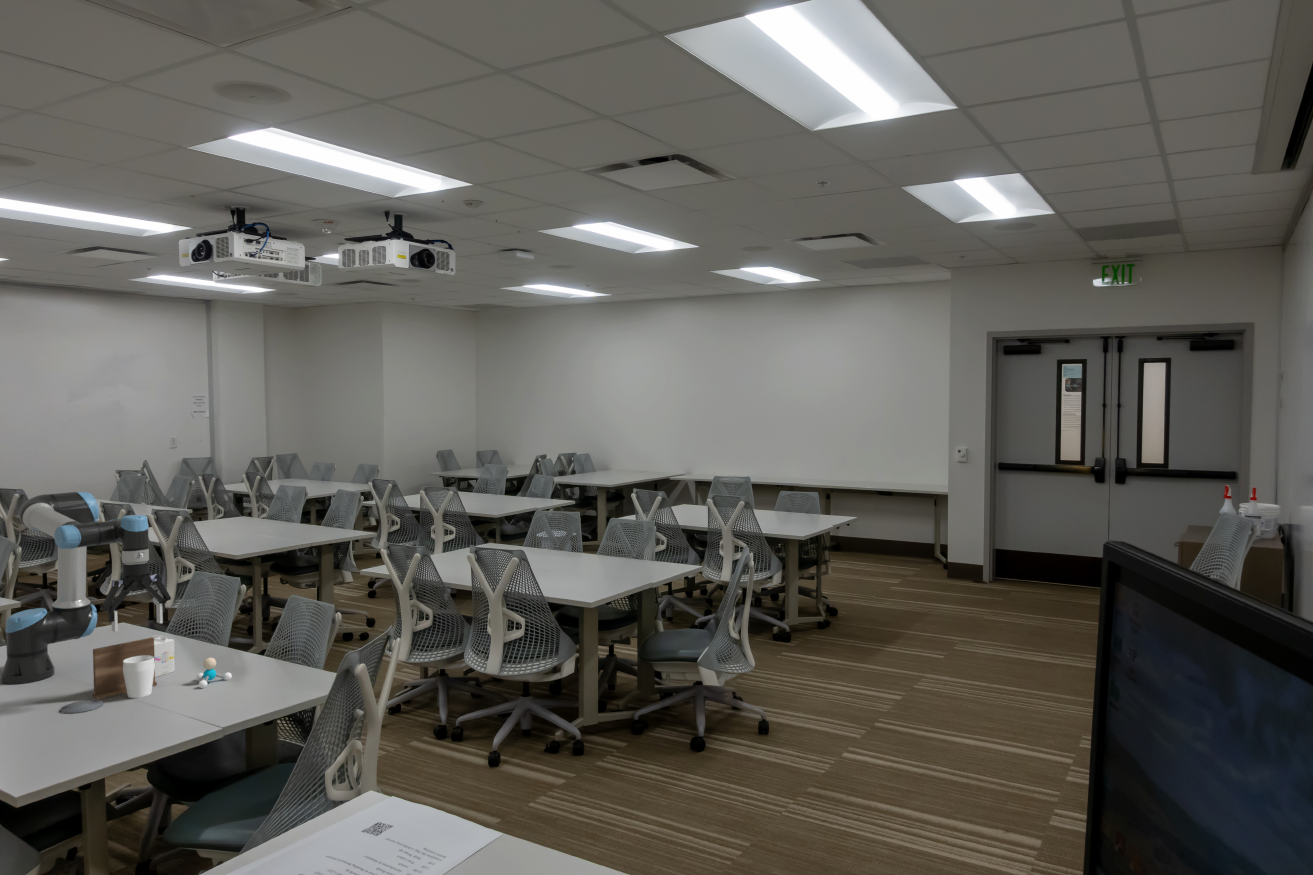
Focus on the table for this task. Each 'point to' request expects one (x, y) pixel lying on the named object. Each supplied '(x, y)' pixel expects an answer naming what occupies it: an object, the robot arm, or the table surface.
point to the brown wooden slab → (116, 666)
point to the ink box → (163, 655)
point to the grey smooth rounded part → (81, 706)
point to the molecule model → (210, 673)
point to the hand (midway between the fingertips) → (137, 626)
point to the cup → (139, 675)
